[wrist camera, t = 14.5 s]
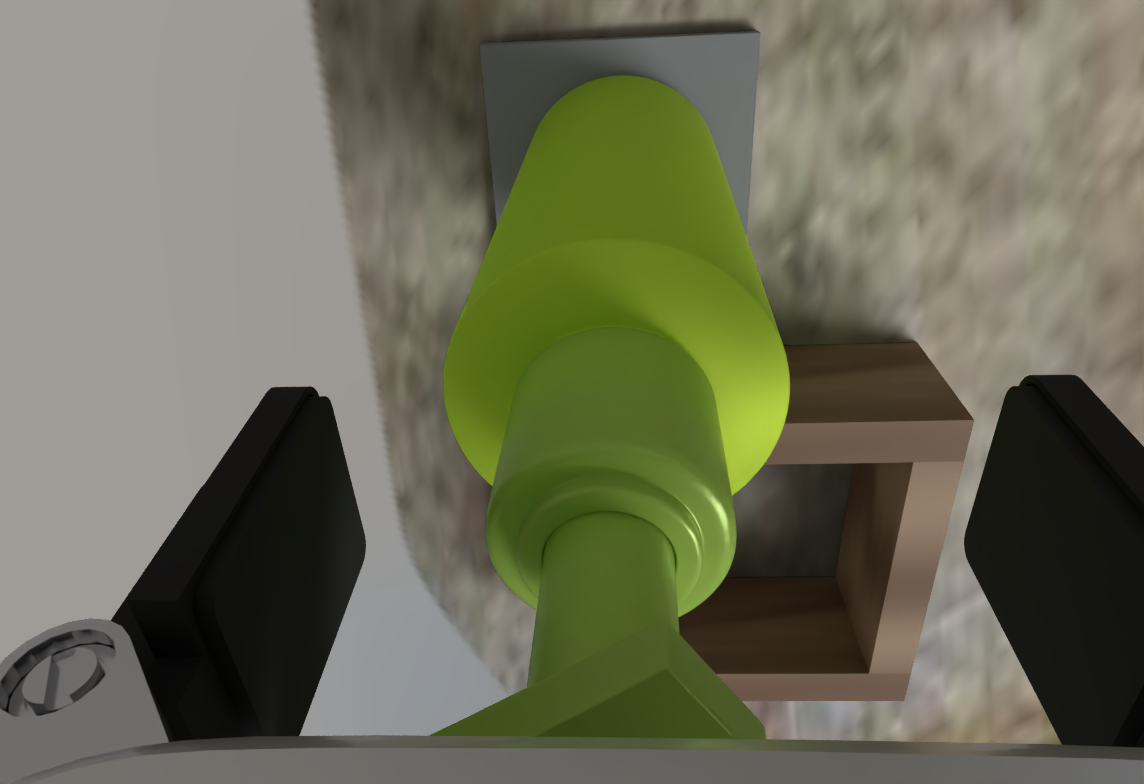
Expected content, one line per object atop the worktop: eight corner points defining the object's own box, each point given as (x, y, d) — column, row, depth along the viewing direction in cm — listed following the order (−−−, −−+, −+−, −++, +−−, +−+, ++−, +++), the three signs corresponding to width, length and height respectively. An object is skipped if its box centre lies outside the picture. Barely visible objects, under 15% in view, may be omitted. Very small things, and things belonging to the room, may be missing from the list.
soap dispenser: (462, 172, 25) (105, 760, 8) (648, 31, 22) (702, 444, 6) (574, 312, 27) (481, 999, 10) (753, 197, 25) (1020, 851, 8)
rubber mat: (481, 43, 23) (479, 45, 23) (757, 30, 23) (760, 32, 23) (508, 320, 28) (506, 327, 28) (738, 314, 28) (740, 321, 27)
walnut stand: (559, 351, 29) (551, 427, 24) (917, 342, 28) (974, 420, 24) (575, 604, 35) (571, 700, 31) (866, 602, 34) (903, 700, 30)
